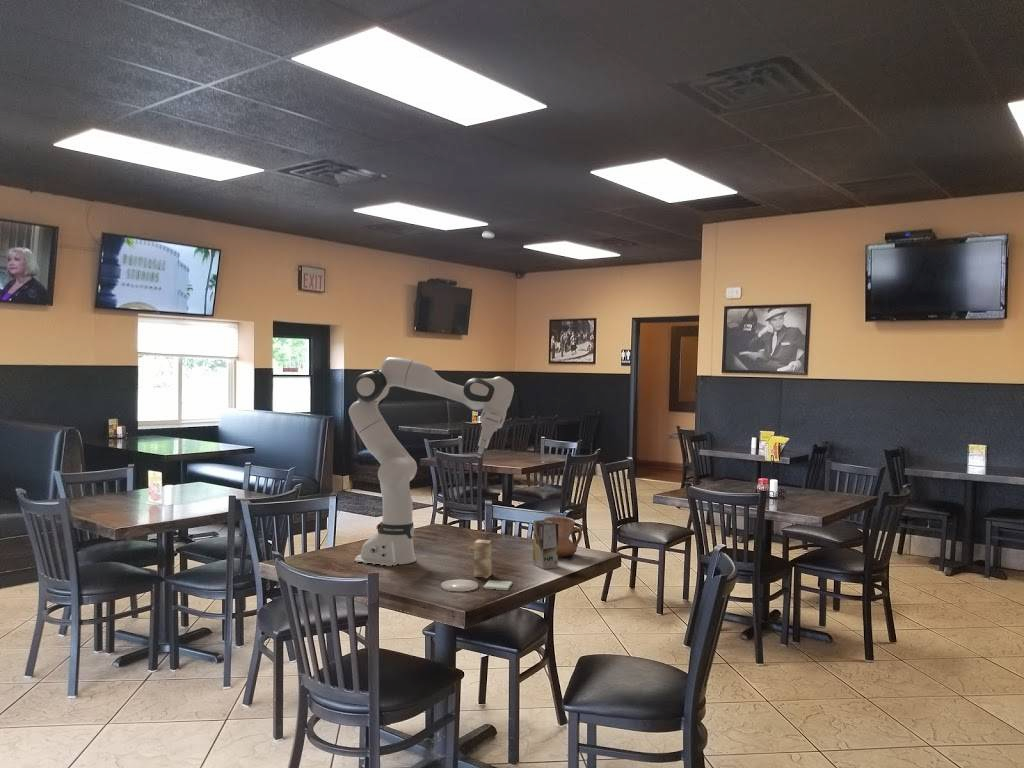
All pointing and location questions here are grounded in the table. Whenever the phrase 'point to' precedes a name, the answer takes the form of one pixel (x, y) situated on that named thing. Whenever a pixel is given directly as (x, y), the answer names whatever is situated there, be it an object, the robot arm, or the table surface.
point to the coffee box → (545, 544)
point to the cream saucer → (459, 585)
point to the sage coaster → (497, 585)
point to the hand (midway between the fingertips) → (479, 454)
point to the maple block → (482, 558)
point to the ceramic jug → (566, 535)
